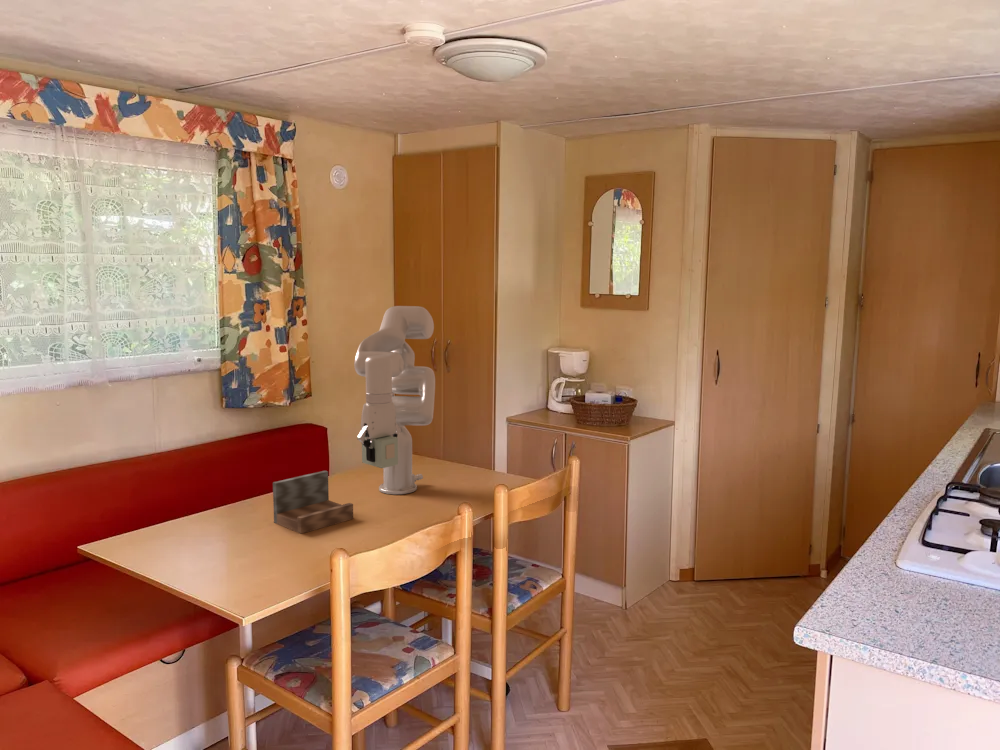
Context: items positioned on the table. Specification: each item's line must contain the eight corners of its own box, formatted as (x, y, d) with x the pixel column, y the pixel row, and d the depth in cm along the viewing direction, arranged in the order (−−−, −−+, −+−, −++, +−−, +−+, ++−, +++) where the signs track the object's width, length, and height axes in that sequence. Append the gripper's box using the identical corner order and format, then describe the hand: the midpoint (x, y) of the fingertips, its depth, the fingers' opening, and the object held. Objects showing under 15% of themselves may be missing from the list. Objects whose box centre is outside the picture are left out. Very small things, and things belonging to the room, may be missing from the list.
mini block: (378, 458, 232) (377, 432, 231) (398, 464, 226) (398, 437, 224) (362, 462, 227) (361, 435, 226) (382, 468, 221) (382, 441, 220)
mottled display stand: (325, 508, 238) (324, 470, 237) (353, 518, 229) (352, 479, 228) (273, 522, 225) (272, 482, 223) (301, 533, 216) (300, 492, 214)
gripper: (393, 392, 232) (394, 451, 235) (346, 400, 220) (347, 462, 223) (410, 396, 227) (410, 455, 230) (363, 404, 215) (364, 467, 218)
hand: (379, 458), depth 226 cm, fingers closed on mini block, 6 cm apart
